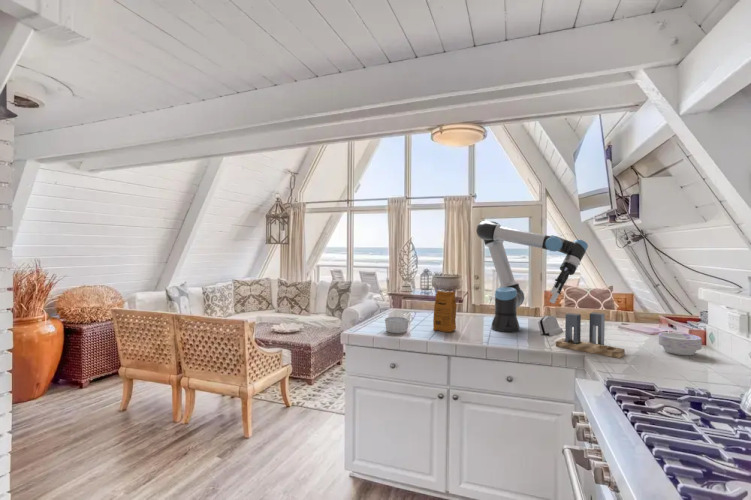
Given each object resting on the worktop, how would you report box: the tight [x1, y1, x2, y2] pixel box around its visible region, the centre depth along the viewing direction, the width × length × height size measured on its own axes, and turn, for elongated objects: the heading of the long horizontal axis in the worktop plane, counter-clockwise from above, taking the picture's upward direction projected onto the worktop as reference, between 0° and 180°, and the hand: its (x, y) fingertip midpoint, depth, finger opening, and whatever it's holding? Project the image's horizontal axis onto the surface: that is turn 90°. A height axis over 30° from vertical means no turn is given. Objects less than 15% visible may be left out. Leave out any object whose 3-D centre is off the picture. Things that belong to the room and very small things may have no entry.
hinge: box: [537, 315, 564, 337], centre depth 209 cm, size 17×5×10 cm, turn 132°
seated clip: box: [564, 312, 582, 344], centre depth 178 cm, size 5×5×16 cm
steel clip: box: [588, 311, 606, 345], centre depth 180 cm, size 5×5×16 cm
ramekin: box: [384, 316, 410, 334], centre depth 208 cm, size 13×13×7 cm
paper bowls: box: [657, 331, 703, 356], centre depth 170 cm, size 15×15×8 cm
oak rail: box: [555, 337, 626, 359], centre depth 173 cm, size 26×8×2 cm, turn 44°
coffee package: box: [432, 290, 457, 333], centre depth 212 cm, size 10×12×22 cm
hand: (552, 298), depth 199 cm, fingers open, 13 cm apart
